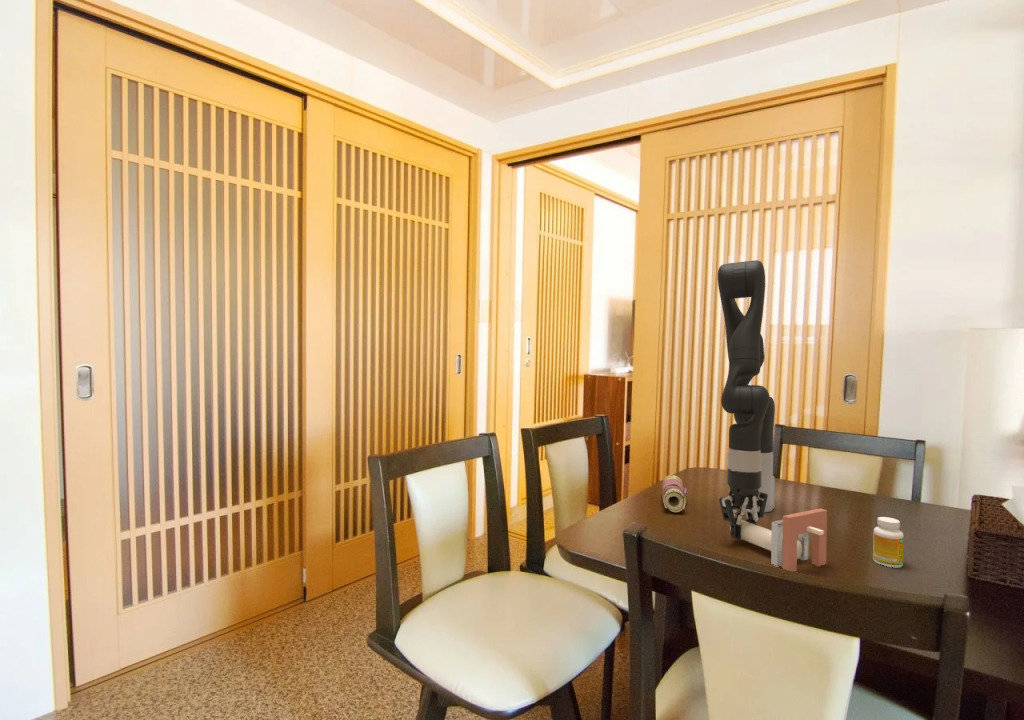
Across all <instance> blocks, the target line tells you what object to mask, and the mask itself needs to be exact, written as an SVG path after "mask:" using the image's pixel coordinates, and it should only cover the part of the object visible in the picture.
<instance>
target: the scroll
mask: <svg viewBox="0 0 1024 720" xmlns="http://www.w3.org/2000/svg"><path fill="white" fill-rule="evenodd" d="M661 488H662V489H661V491H662V494H661V496H662V502H663V505H664V508H665V509H668V510H669V511H670V512H673V513H680V512H681V511H683V510H685V507H686V502H687V500H686V498H687V496H688V494H689V491H688V489H687V487H684V484H683V480H682V479H681V478H680V476H677V475H674V474H673V475H667V476H666V477H664V478H663V480H662V487H661Z"/></svg>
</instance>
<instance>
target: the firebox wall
mask: <svg viewBox="0 0 1024 720" xmlns="http://www.w3.org/2000/svg"><path fill="white" fill-rule="evenodd" d="M782 520H783V530H782V535H783V548H782V566H781V568H783V569H787V570H791V571H798V565H797V564H798V559H797V540H798V535H800V534H804V533H812V545H811V548H812V551H811V552H812V553H811V555H812V557H811V564H812V565H813V564H814V566H816V567H818V566H819V567H822V566H821V565H823V566H826V565H827V537H828V536H827V535H828V534H827V533H828V530H827V529H828V527H827V526H828V525H827V524H828V510H827V509H824V508H821V507H820V508H816V509H811V510H804V511H801V512H795V513H790V514H786V515H783V516H782ZM825 564H826V565H825Z"/></svg>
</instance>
